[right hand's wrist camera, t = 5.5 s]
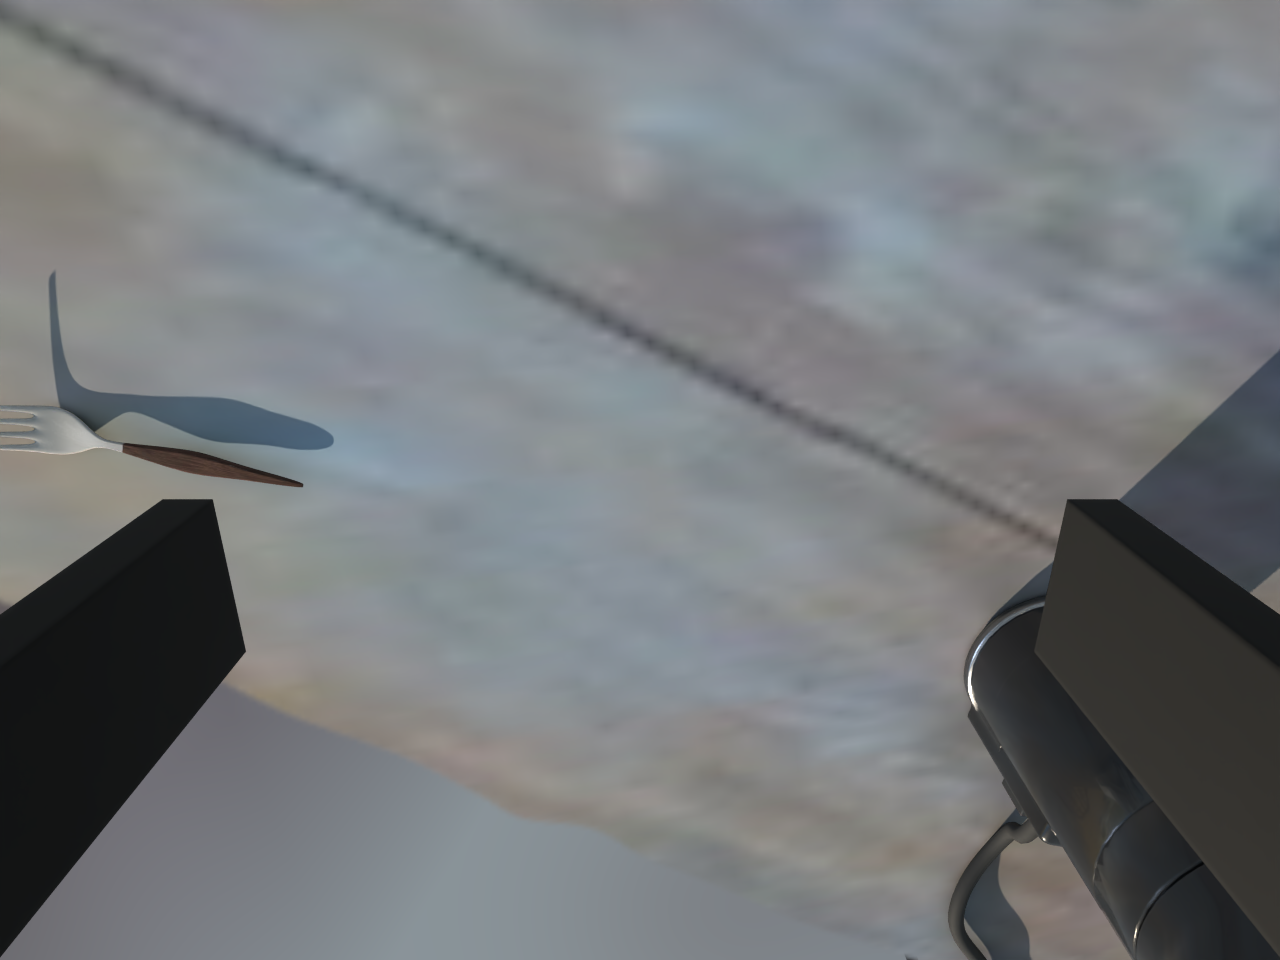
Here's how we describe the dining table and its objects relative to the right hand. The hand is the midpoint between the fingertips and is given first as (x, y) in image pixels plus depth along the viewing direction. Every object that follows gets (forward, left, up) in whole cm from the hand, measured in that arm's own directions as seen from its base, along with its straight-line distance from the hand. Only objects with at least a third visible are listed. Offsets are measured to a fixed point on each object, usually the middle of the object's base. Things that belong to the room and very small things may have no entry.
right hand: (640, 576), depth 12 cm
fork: (+8, -25, -28) cm, 39 cm away
